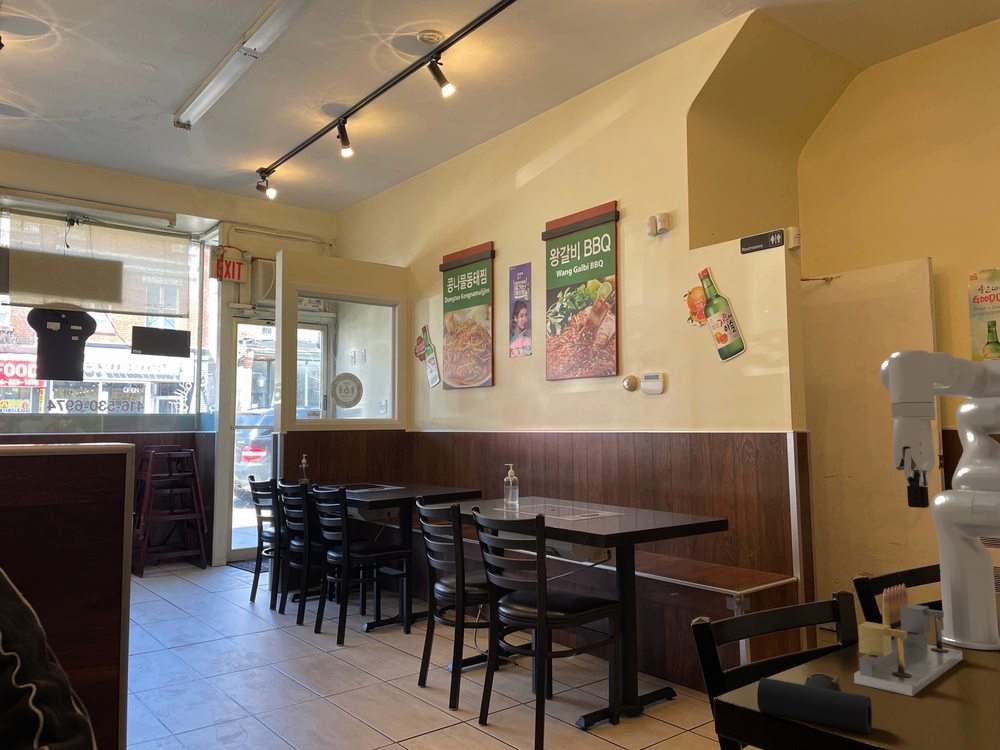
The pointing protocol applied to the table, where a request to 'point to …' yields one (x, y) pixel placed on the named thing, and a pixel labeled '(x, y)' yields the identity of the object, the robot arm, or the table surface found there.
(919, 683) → the bolt plate
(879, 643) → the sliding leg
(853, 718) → the pipe connector
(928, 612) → the fixed leg
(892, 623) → the ammunition clip
